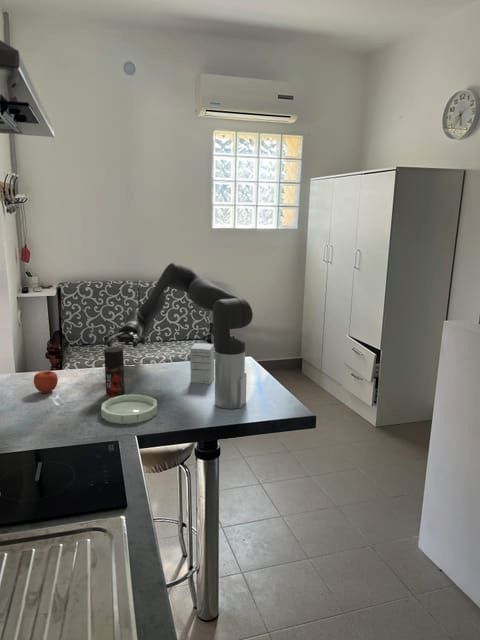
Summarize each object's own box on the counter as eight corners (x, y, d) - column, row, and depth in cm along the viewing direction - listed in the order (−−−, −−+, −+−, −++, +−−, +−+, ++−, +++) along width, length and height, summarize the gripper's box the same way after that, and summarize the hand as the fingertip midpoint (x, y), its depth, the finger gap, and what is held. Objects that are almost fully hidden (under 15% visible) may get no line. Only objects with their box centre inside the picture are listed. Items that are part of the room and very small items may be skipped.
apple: (36, 389, 162) (34, 366, 160) (59, 387, 164) (57, 364, 162) (33, 397, 155) (31, 373, 153) (57, 395, 157) (56, 371, 155)
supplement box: (194, 376, 177) (194, 342, 175) (214, 377, 176) (214, 343, 174) (189, 382, 170) (189, 348, 168) (210, 384, 169) (210, 349, 167)
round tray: (166, 405, 150) (165, 398, 149) (141, 426, 135) (140, 418, 134) (120, 399, 154) (119, 392, 154) (90, 419, 139) (90, 411, 139)
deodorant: (127, 391, 162) (125, 347, 158) (121, 397, 156) (119, 352, 153) (110, 390, 162) (108, 346, 159) (103, 396, 156) (101, 351, 153)
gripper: (111, 322, 182) (100, 333, 166) (149, 323, 182) (141, 334, 166) (112, 341, 184) (101, 354, 168) (149, 342, 184) (142, 355, 168)
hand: (121, 344), depth 167 cm, fingers open, 8 cm apart
